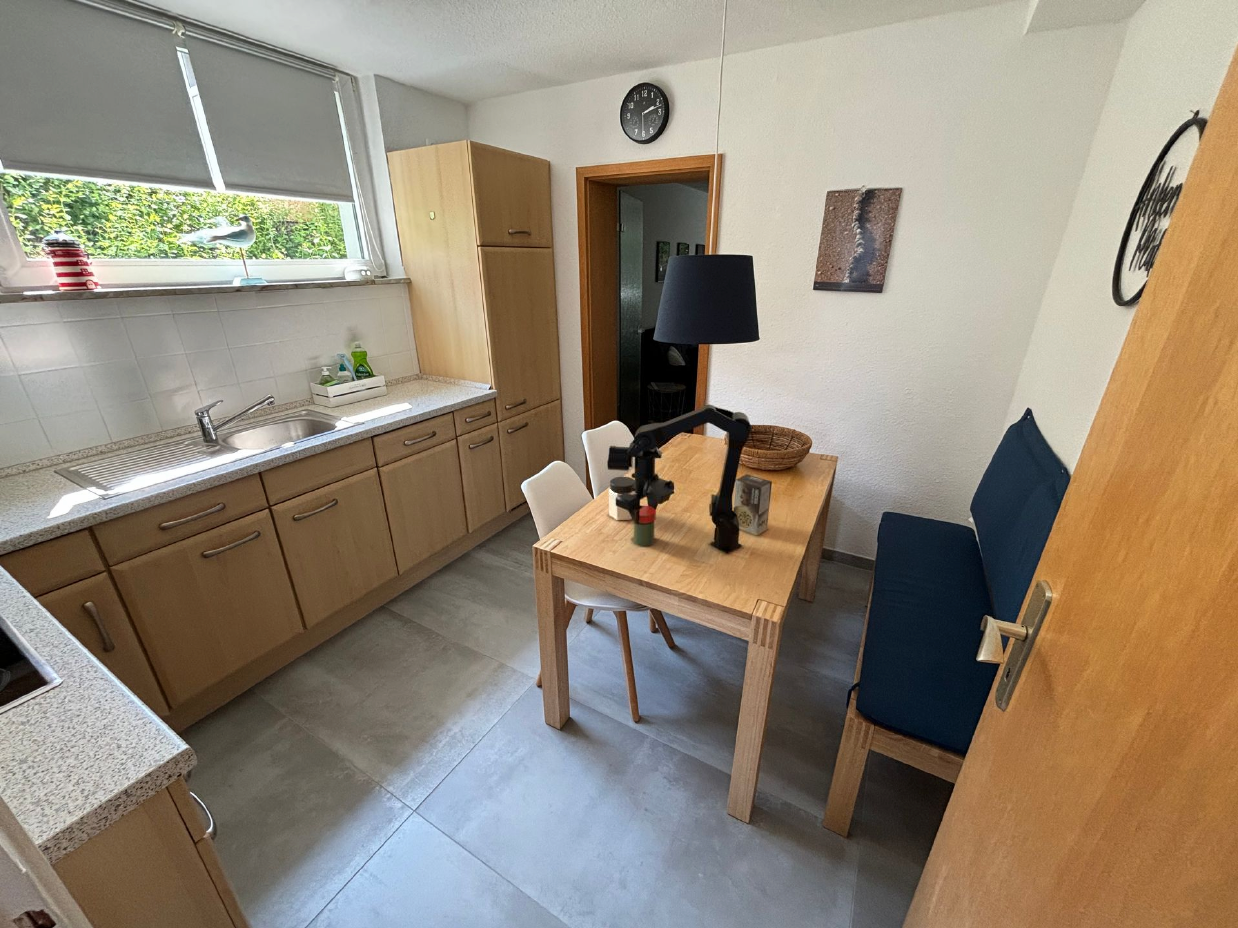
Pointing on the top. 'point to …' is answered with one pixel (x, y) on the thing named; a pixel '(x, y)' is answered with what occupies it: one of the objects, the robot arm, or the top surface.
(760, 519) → the coffee box
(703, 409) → the robot arm
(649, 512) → the lid
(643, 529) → the green jar
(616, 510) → the jar
